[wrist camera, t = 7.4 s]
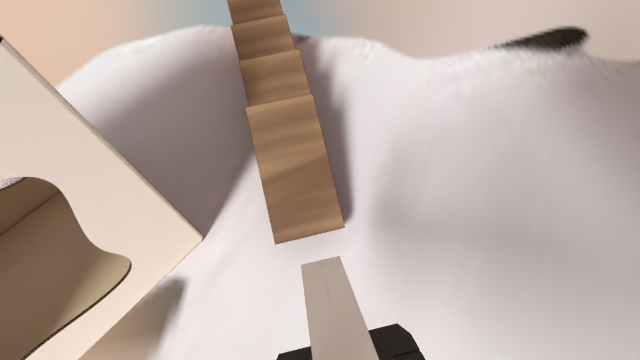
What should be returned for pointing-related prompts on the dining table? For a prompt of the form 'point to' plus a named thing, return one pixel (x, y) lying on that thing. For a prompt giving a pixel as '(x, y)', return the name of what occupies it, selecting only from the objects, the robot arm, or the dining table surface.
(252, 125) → the domino
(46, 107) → the gable box
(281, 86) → the domino
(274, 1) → the domino
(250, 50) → the domino
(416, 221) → the dining table surface
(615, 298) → the dining table surface
